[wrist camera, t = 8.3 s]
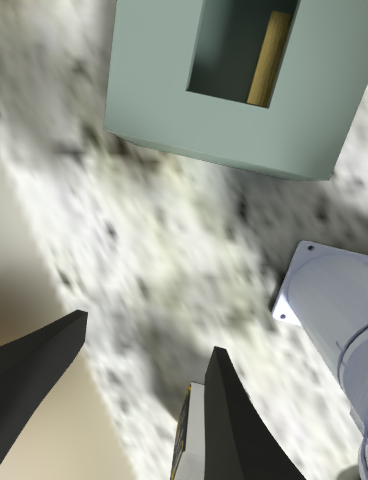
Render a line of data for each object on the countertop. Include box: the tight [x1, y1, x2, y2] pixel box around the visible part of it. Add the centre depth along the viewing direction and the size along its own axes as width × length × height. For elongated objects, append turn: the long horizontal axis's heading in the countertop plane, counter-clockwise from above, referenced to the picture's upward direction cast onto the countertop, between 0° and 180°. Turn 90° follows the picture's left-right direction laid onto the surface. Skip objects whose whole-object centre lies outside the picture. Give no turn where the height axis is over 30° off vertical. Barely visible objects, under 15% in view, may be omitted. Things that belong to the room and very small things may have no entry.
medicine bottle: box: [170, 382, 253, 480], centre depth 20 cm, size 7×7×12 cm
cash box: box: [103, 0, 368, 181], centre depth 14 cm, size 13×13×6 cm
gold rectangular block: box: [244, 11, 294, 108], centre depth 15 cm, size 2×5×4 cm
